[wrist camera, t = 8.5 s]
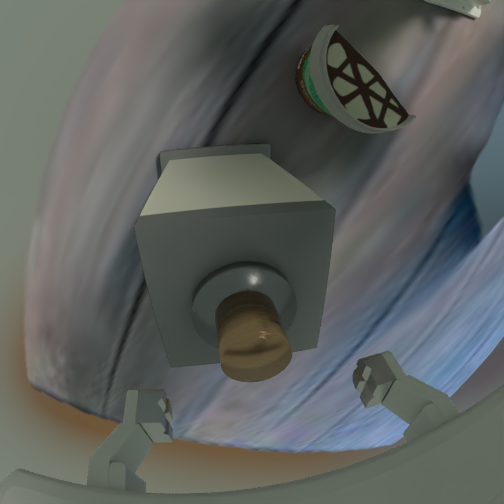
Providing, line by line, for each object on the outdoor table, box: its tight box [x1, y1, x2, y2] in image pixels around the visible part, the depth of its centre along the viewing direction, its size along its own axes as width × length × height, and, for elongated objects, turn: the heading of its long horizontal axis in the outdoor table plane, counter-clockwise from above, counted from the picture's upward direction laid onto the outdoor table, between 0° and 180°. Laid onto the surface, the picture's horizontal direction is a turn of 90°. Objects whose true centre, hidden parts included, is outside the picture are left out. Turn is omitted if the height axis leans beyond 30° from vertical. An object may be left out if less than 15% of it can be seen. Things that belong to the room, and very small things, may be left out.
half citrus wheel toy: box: [296, 25, 416, 134], centre depth 25 cm, size 12×6×10 cm, turn 50°
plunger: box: [191, 261, 297, 382], centre depth 20 cm, size 7×7×19 cm
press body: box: [134, 143, 336, 367], centre depth 24 cm, size 12×12×20 cm
